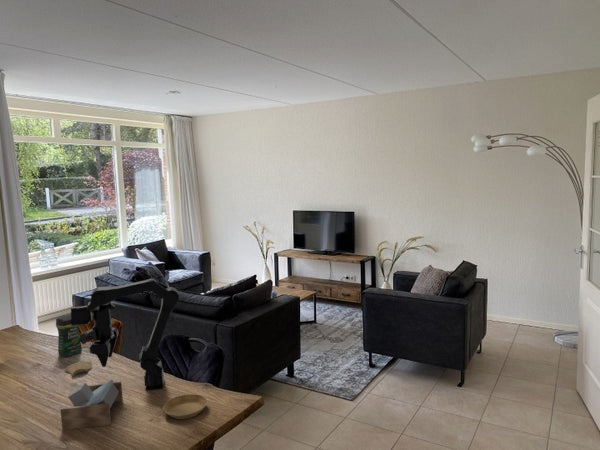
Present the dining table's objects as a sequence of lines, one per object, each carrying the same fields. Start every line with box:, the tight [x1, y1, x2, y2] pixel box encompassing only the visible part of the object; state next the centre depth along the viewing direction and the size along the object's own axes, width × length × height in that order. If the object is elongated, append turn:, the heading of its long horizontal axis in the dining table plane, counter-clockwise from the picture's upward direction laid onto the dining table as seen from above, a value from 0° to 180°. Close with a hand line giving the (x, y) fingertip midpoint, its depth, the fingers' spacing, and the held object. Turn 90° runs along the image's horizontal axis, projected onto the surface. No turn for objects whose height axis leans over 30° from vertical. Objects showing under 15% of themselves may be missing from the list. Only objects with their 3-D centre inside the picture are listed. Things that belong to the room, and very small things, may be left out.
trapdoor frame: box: [60, 381, 124, 431], centre depth 161 cm, size 15×17×7 cm
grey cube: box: [67, 382, 94, 407], centre depth 160 cm, size 5×5×5 cm
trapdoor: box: [82, 379, 119, 409], centre depth 161 cm, size 12×14×5 cm
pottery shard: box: [63, 361, 93, 376], centre depth 198 cm, size 11×4×10 cm
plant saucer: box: [162, 393, 208, 420], centre depth 161 cm, size 15×15×3 cm
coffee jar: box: [55, 313, 83, 358], centre depth 217 cm, size 10×8×19 cm
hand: (107, 361), depth 174 cm, fingers open, 9 cm apart
